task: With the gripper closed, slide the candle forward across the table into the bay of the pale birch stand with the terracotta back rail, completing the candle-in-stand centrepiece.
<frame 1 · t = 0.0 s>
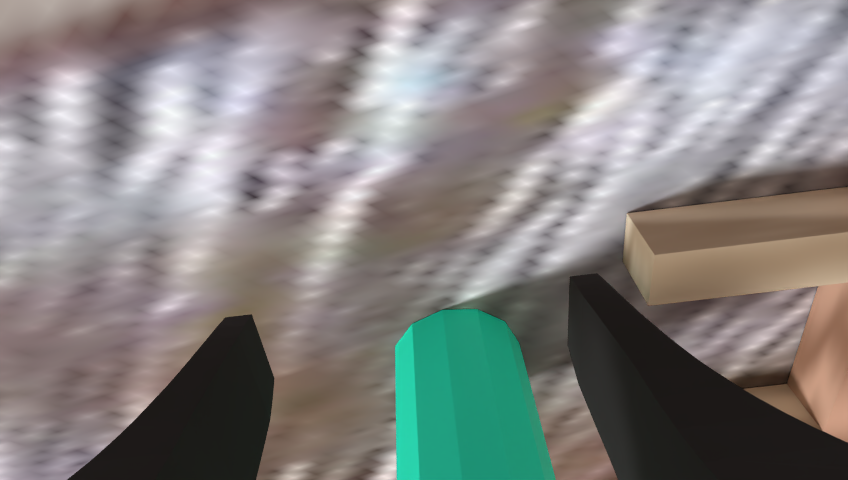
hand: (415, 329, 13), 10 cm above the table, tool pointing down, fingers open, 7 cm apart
candle: (456, 353, 28), on the table
stand: (711, 327, 28), on the table
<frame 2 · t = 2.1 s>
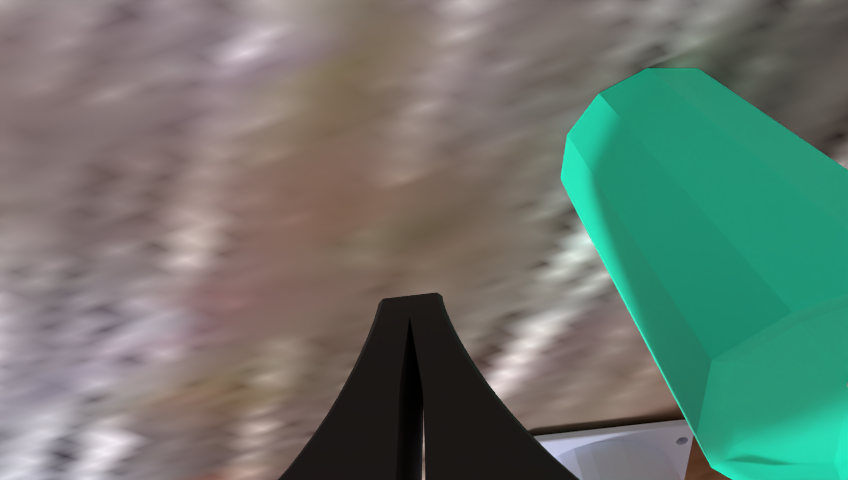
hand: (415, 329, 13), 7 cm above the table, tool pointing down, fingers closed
candle: (649, 153, 20), on the table
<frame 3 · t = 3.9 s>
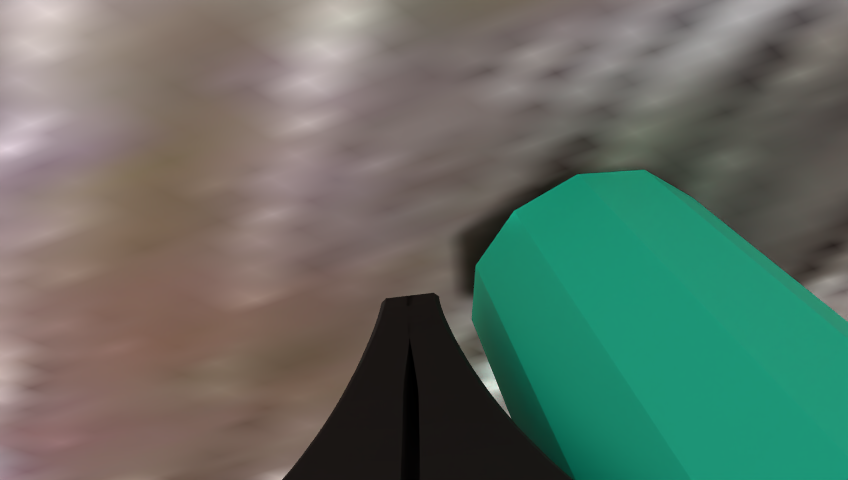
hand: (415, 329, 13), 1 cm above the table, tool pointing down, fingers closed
candle: (586, 276, 14), on the table, touching gripper
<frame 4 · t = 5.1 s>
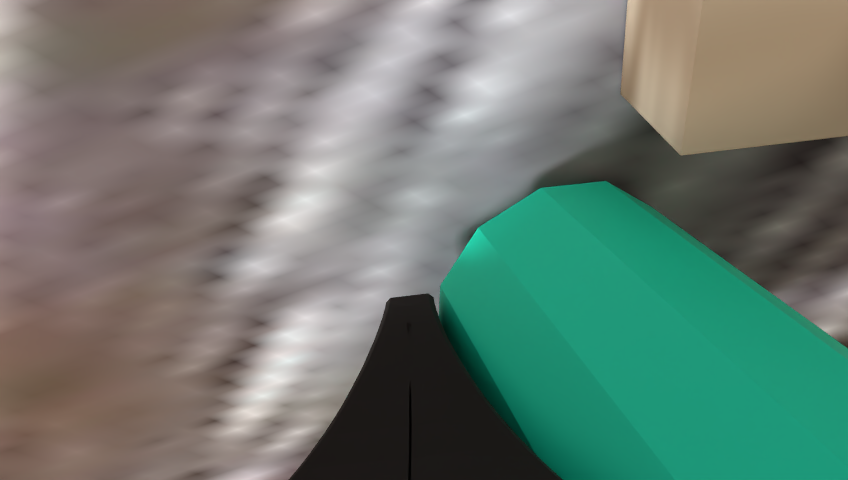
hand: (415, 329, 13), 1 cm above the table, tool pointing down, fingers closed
candle: (550, 291, 14), point 1 cm above the table, touching gripper
stand: (789, 248, 15), on the table
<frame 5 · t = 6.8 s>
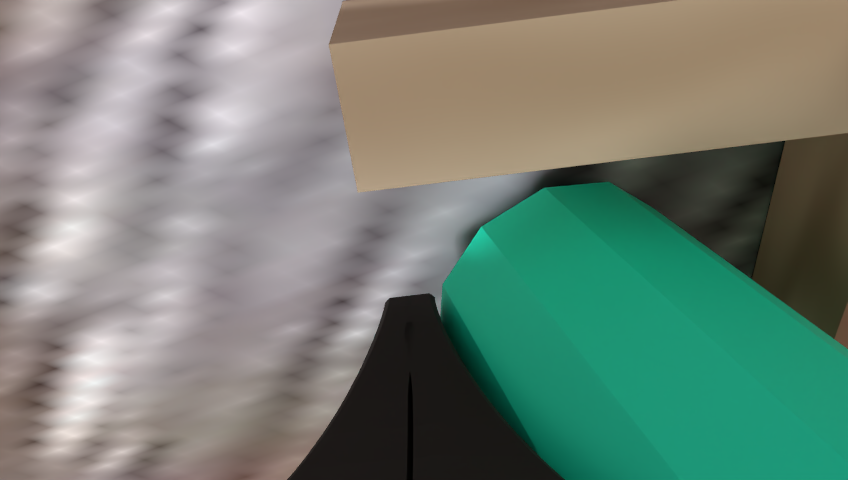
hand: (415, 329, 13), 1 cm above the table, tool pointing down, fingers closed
candle: (552, 291, 14), point 1 cm above the table, touching gripper
stand: (575, 272, 15), on the table
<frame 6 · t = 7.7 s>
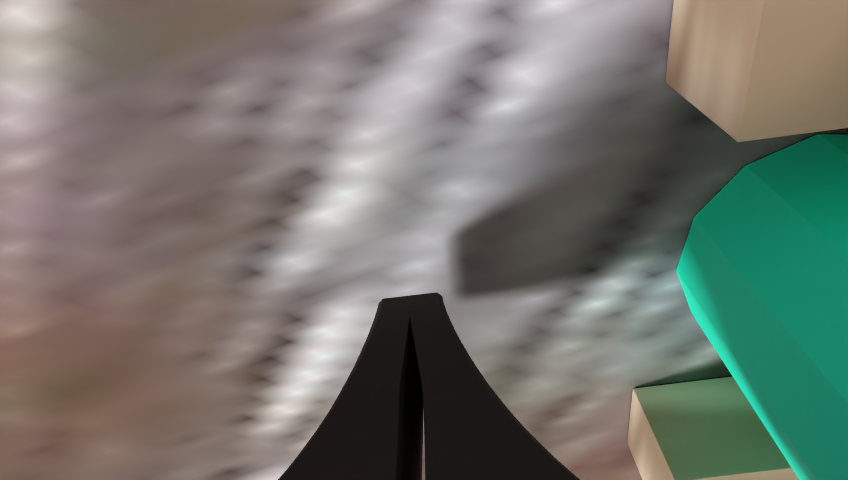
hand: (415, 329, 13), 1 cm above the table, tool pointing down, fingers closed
candle: (795, 241, 15), on the table
stand: (831, 238, 14), on the table
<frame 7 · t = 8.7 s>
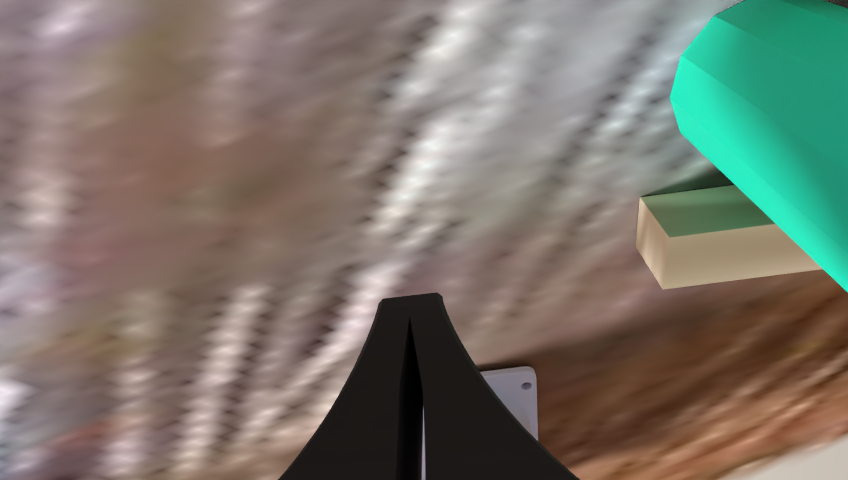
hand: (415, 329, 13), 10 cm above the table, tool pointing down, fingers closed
candle: (750, 76, 22), on the table
stand: (774, 72, 21), on the table
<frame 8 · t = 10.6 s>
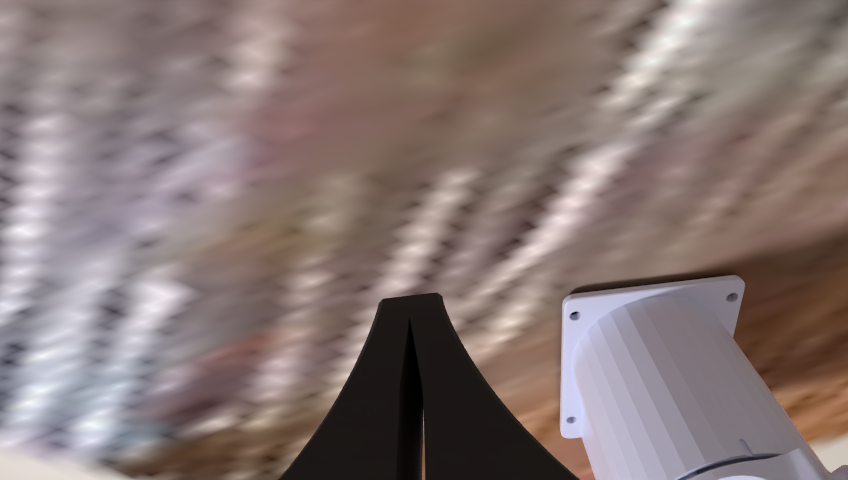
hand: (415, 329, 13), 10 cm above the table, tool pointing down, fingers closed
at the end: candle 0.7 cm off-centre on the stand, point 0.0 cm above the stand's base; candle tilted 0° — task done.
